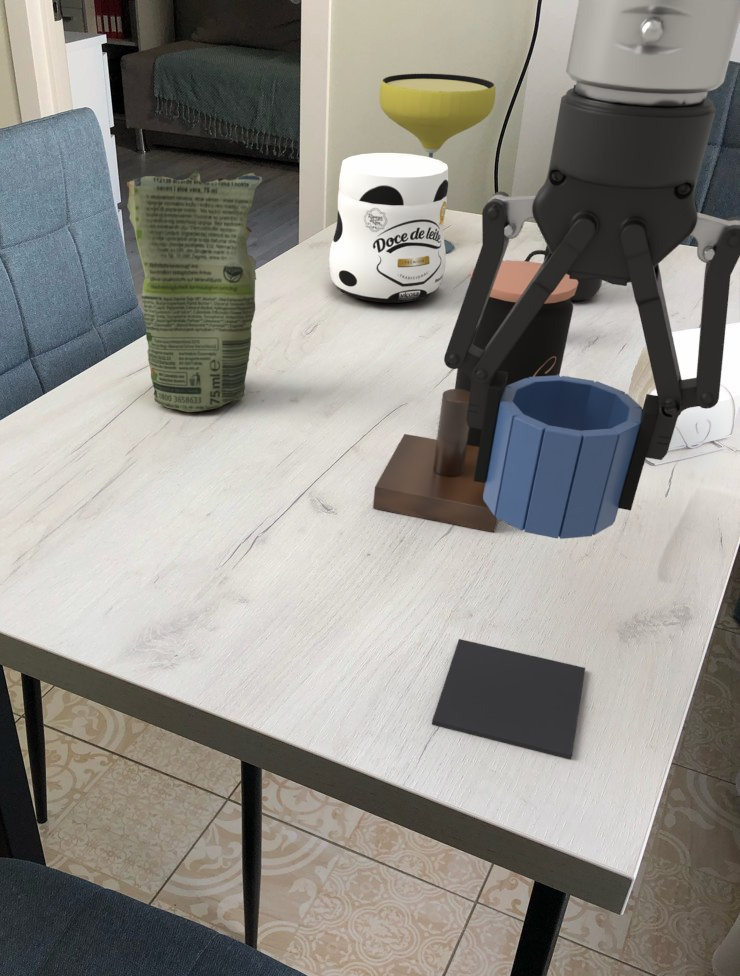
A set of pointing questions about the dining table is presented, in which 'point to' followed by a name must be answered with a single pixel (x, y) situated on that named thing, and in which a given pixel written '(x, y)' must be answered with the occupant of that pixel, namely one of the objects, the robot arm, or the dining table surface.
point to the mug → (584, 286)
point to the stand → (437, 473)
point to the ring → (561, 455)
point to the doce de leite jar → (390, 227)
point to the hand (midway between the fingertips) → (553, 485)
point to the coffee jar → (541, 338)
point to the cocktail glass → (436, 106)
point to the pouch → (196, 286)
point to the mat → (511, 698)
